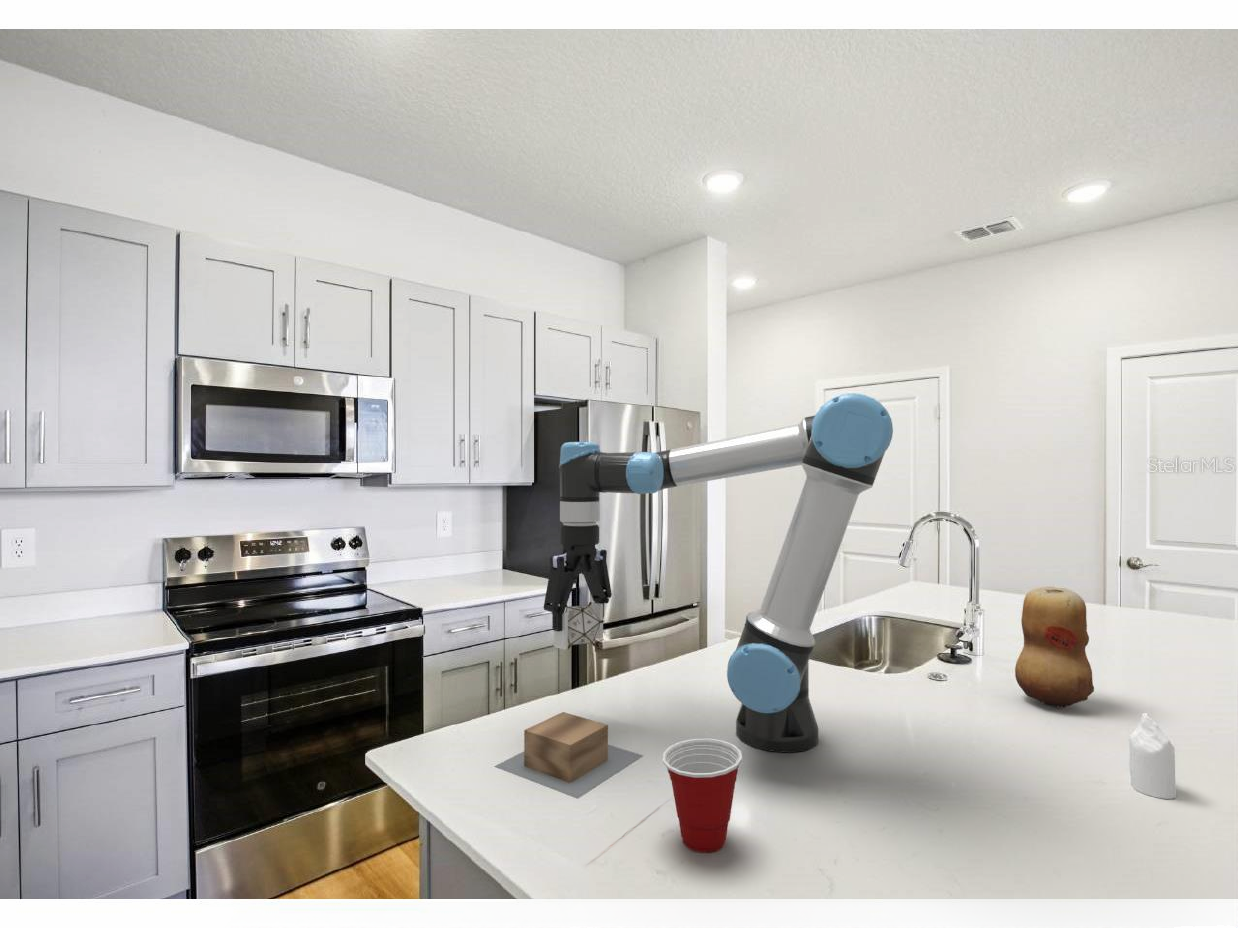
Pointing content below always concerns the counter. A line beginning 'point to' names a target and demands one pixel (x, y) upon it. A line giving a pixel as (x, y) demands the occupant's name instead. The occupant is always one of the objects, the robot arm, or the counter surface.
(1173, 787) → the white pouch
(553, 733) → the walnut block
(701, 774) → the plastic cup
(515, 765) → the build mat
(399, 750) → the counter surface
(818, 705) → the counter surface
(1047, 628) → the butternut squash
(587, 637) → the game die
